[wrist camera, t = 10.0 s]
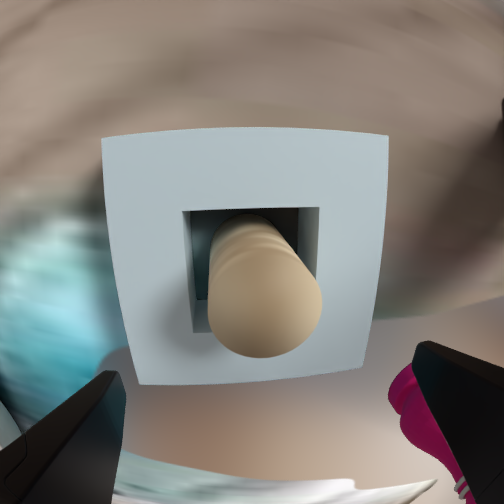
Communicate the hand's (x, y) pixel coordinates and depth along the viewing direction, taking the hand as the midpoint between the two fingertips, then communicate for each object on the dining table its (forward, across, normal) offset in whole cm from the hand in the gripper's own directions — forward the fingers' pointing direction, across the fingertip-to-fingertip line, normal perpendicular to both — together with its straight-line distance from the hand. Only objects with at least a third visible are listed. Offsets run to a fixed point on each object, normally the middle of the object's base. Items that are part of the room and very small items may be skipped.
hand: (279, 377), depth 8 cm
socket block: (+12, 0, 0) cm, 12 cm away
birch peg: (+12, 0, 0) cm, 12 cm away
